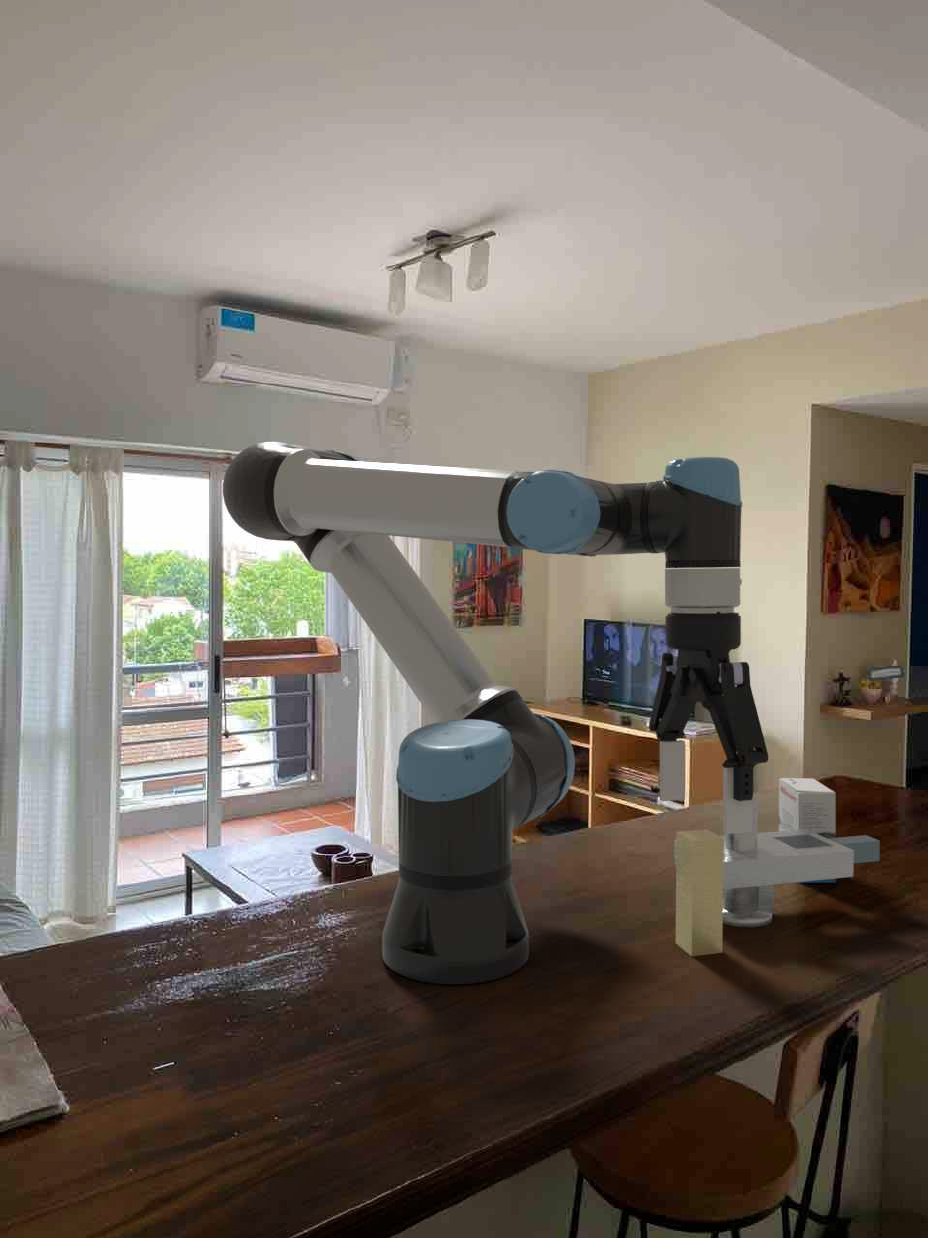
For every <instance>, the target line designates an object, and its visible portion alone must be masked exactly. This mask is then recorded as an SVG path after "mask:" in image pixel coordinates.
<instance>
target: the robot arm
mask: <svg viewBox="0 0 928 1238" xmlns="http://www.w3.org/2000/svg"><path fill="white" fill-rule="evenodd" d="M664 469H665V470H664V475H663V476H662V477H663V479H662V480H661V479H660V480H656V481H650V482H633V483H632V482H631V483H629V482H627V483H612V482H611V483H609V482H605V481H600V480H597V479H592V478H588V477H586V478H585V477H583V476H579V475H576V474H574V472H573V473H572V472H569V471H562V470H555V469H548V470H540V471H518V470H507V469H506V470H505V469H489V468H472V467H456V466H455V467H454V466H442V465H441V466H438V465H437V466H436V465H424V464H423V465H422V464H407V463H406V464H404V463H403V464H402V463H387V462H374V461H373V462H372V461H371V462H369V461H362V460H361V459H359V458H357V457H355V456H352V455H349V454H347V453H345V452H342V451H337V450H333V449H332V450H329V449H328V450H322V449H318V448H317V449H316V448H311V447H306V446H301V445H296V444H289V443H286V442H285V443H284V442H279V441H266V442H258V443H256V444H252V445H250V446H248V447H246V448H244V449H243V450H242V451H240V452H239V453H238V454H236V456H235V457H234V458H233V459H232V461H231V462H230V463H229V464H228V466H227V469H226V470H225V474H224V478H223V482H222V496H223V500H224V505H225V508H226V509H227V512H228V514H229V515H230V517H231V518H232V520H233V521H234V523H236V524H237V526H238V527H239V528H241V529H242V530H244V531H245V532H247V533H248V534H251V535H252V536H255V537H257V538H261V539H264V540H270V541H284V542H286V541H287V542H294V543H295V545H296V546H298V549H299V550H300V552H301V553H302V554H303V556H304V557H305V558H306V559H307V561H308V563H309V564H310V566H311V567H312V568H313V570H315V571H317V572H320V573H326V574H327V573H329V574H331V575H332V576H333V578H334V579H335V581H336V582H337V584H338V586H339V587H340V589H342V590H343V591H342V592H344V594H345V595H346V597H347V598H348V600H349V601H350V602H351V604H352V606H353V607H354V609H356V611H357V613H358V614H359V615H360V617H361V618H362V620H363V621H364V623H365V624H366V625H367V627H368V629H369V630H370V631H371V632H372V634H373V636H374V637H375V638H376V640H377V642H378V643H379V644H380V646H381V647H382V648H383V650H384V652H385V653H386V654H387V656H388V657H389V659H390V660H391V661H392V663H393V664H394V666H395V667H396V669H397V670H398V672H399V673H400V675H401V677H402V678H403V679H404V680H405V682H406V683H407V685H408V686H409V688H410V689H411V691H412V692H413V694H414V695H415V696H416V698H417V700H418V701H419V702H420V703H421V705H422V707H423V708H424V709H425V710H424V711H426V712H427V714H428V715H429V717H430V718H431V720H432V722H434V723H430V724H427V725H424V726H421V727H418V728H416V729H415V730H413V731H411V732H409V733H408V734H407V735H406V736H405V737H404V739H402V741H401V743H400V746H399V748H398V749H399V750H398V761H397V763H398V765H397V769H396V773H395V779H396V783H397V815H398V816H397V817H398V818H397V821H398V822H397V823H398V824H397V825H398V833H397V834H398V835H397V836H398V881H397V882H398V883H397V885H396V889H395V893H394V896H393V898H392V902H391V906H390V908H389V912H388V914H387V918H386V921H385V924H384V927H383V931H382V937H381V942H382V943H381V944H382V947H381V949H382V953H381V954H382V959H383V963H384V964H385V965H386V966H387V967H388V968H389V969H390V970H392V971H393V972H395V973H396V974H399V975H401V976H403V977H406V978H409V979H412V980H414V981H415V980H416V981H420V982H425V983H431V984H440V985H468V984H469V985H470V984H471V985H472V984H478V983H484V982H490V981H493V980H494V981H495V980H497V979H501V978H504V977H506V976H508V975H511V974H513V973H515V972H517V971H518V970H519V969H521V968H522V967H523V966H525V964H526V963H527V962H528V959H529V957H530V956H529V954H530V935H529V934H530V933H529V930H528V927H527V924H526V920H525V917H524V914H523V911H522V908H521V904H520V902H519V898H518V896H517V895H518V894H517V892H516V890H515V889H516V888H515V885H514V882H513V874H512V873H513V872H512V871H513V869H512V868H513V866H512V864H513V863H512V860H513V857H512V855H513V854H512V853H513V852H512V851H513V849H512V848H513V845H512V844H513V842H512V841H513V838H512V837H513V832H514V831H515V830H516V829H518V828H520V827H522V826H523V825H525V824H526V823H528V822H530V821H533V820H535V819H539V818H541V817H543V816H545V815H546V814H547V813H548V812H549V811H551V810H553V809H554V808H555V807H556V805H557V804H558V803H560V802H561V801H562V800H563V799H564V798H565V796H566V795H567V793H568V791H569V790H570V787H571V785H572V783H573V780H574V775H575V769H576V768H575V766H576V761H575V760H576V759H575V752H574V748H573V745H572V743H571V740H570V738H569V737H568V734H567V733H566V731H565V730H564V729H563V728H562V727H561V725H560V724H558V722H556V721H555V720H553V719H551V718H549V717H547V716H545V715H542V714H539V713H536V712H533V711H532V710H531V708H530V706H529V705H528V704H527V703H526V701H525V699H524V698H523V697H522V696H521V694H520V692H518V690H517V689H515V688H514V687H512V686H511V687H509V686H506V685H505V686H504V685H499V684H496V681H494V679H493V678H492V676H491V675H490V674H489V672H488V671H487V669H486V668H485V667H484V665H483V664H482V663H481V661H480V660H479V659H478V657H477V655H476V654H475V653H474V652H473V650H472V649H471V647H470V646H469V644H468V643H467V642H466V641H465V639H464V638H463V637H462V635H461V633H460V632H459V630H458V629H457V628H456V627H455V625H454V624H453V622H452V621H451V620H450V618H449V616H448V615H447V614H446V613H445V612H444V610H443V609H442V608H441V606H440V604H439V603H438V601H437V600H436V599H435V597H434V596H433V595H432V594H431V592H430V591H429V589H428V588H427V587H426V585H425V583H424V582H423V581H422V579H421V578H420V576H418V574H417V573H416V571H415V569H414V568H413V567H412V565H411V564H410V563H409V562H408V560H407V558H406V557H405V556H404V555H403V552H401V551H400V548H398V546H397V545H396V543H395V542H394V541H393V539H392V538H391V537H400V538H402V537H403V538H411V539H422V540H433V541H443V542H451V543H453V542H454V543H464V544H473V545H475V544H476V545H485V546H493V547H494V546H495V547H501V548H503V547H504V548H512V549H513V548H515V549H518V550H529V551H536V552H537V553H542V554H547V555H548V554H551V555H568V556H569V555H570V556H573V555H574V556H581V557H596V556H608V555H610V556H611V555H615V556H616V555H633V554H634V555H635V554H661V553H663V554H664V556H665V565H664V566H665V569H664V605H665V606H666V607H667V608H670V612H668V613H667V615H665V645H666V647H668V648H669V649H671V650H677V651H676V652H675V651H674V652H663V653H662V654H661V655H662V656H661V672H660V676H659V680H658V684H657V689H656V694H655V697H654V701H653V706H652V710H651V714H650V718H649V723H648V729H649V731H650V732H655V734H656V738H657V740H658V741H659V801H662V802H670V801H671V802H673V801H683V800H684V801H685V800H686V741H685V740H683V739H686V738H687V736H686V733H685V728H686V726H687V724H688V723H689V722H688V721H689V719H690V718H691V715H692V713H693V711H694V709H695V707H696V704H697V703H701V705H702V707H703V708H704V709H706V710H707V711H708V712H709V715H710V717H711V720H712V723H713V726H714V728H715V731H716V734H717V736H718V738H719V741H720V744H721V746H722V749H723V752H724V754H725V757H726V759H725V761H724V762H723V763H722V769H723V770H722V785H723V786H722V793H723V794H722V796H723V797H722V805H723V806H722V832H723V833H724V834H725V833H726V834H733V833H744V832H752V798H753V793H754V767H755V766H757V765H759V764H763V763H768V761H769V753H768V748H767V745H766V742H765V738H764V733H763V730H762V726H761V722H760V718H759V714H758V710H757V707H756V702H755V698H754V695H753V690H752V687H751V676H750V665H749V663H748V662H747V661H740V662H739V661H736V662H731V661H730V652H731V651H732V650H736V649H738V648H740V646H741V644H742V639H741V638H742V636H741V634H742V630H741V628H742V616H741V615H740V614H739V612H734V611H735V608H737V607H739V606H740V605H741V586H742V581H743V580H742V578H741V549H742V548H741V545H742V543H741V540H742V539H741V538H742V535H741V534H742V507H743V501H742V500H741V499H742V498H741V481H740V469H739V465H738V464H737V463H736V462H735V461H734V460H732V459H730V458H725V457H717V456H703V457H702V456H697V457H685V458H682V459H681V458H678V459H677V458H676V459H674V460H671V461H669V462H668V463H667V464H666V465H665V468H664ZM390 536H391V537H390ZM660 719H661V720H660ZM680 739H681V740H680Z"/></svg>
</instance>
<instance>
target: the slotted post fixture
mask: <svg viewBox="0 0 928 1238" xmlns="http://www.w3.org/2000/svg"><path fill="white" fill-rule="evenodd" d="M758 816H759V795H758V794H757V793H754V792H753V798H752V832H744V833H733V834H726V833H724V835H719V836H720V837H722V838H724V851H723V925H727V926H731V927H738V928H759V927H763V926H764V927H765V926H767V925H769V924H771V923H772V921H773V915H774V914H775V885H781V884H790V883H792V884H793V883H800V882H804V881H814V880H824V879H834V878H836V879H842V878H843V879H844V878H853V877H854V866H855V865H854V864H860V863H871V862H873V863H874V862H880V846H881V845H880V843H881V842H880V840H879V839H876V838H874V837H871V836H869V835H866V834H864V835H863V834H862V835H854V836H853V835H851V836H843V837H836V838H825V837H823V836H820V835H818V834H816V833H814V832H811V831H809V830H807V829H799V830H787V831H779V830H778V831H777V830H776V831H765V832H758V826H759V823H758V819H759V817H758ZM673 845H674V846H673V848H674V849H673V853H674V854H673V860H674V861H673V865H674V866H675V867H676V848H677V839H674V844H673Z"/></svg>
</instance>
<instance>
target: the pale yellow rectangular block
mask: <svg viewBox="0 0 928 1238" xmlns="http://www.w3.org/2000/svg"><path fill="white" fill-rule="evenodd" d="M720 836H721V835H718V834H716V833H714V832H713V831H710V830H709V829H707V828H706V829H705V828H704V829H694V830H693V829H692V830H680V831H676V840H677V848H676V866H675V867H676V868H675V869H676V871H675V881H676V882H675V884H676V886H675V888H676V889H675V944H676V945H677V946H678V947H680V948H681V949H682V950H683V951H685V952H686V953H687V954H688V955H689V956H691V957H698V956H707V955H714V954H722V953H723V927H724V926H723V925H724V924H723V899H724V889H723V851H724V838H722V837H720Z"/></svg>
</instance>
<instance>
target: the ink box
mask: <svg viewBox="0 0 928 1238" xmlns="http://www.w3.org/2000/svg"><path fill="white" fill-rule="evenodd" d="M836 810H837V809H836V792H835V791H834V790H833V789H831V788H829V787H827V786H826V785H824V784H823V783H821V782H819V781H818V780H816V779H815V778H803V777H798V778H797V777H792V778H791V777H780V778H779V779H778V831H787V830H799V829H807V830H809V831H811V832H814V833H816V834H818V835H820V836H823V837H825V838H837V836H836V832H837V831H836V827H837V826H836V825H837V824H836V822H837V821H836V820H837V819H836V817H837V816H836V813H837V811H836ZM836 882H837V878H834V879H824V880H814V881H804V882H799V884H814V883H815V884H816V883H817V884H819V883H821V884H822V883H823V884H825V883H828V884H829V883H834V884H835V883H836Z"/></svg>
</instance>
